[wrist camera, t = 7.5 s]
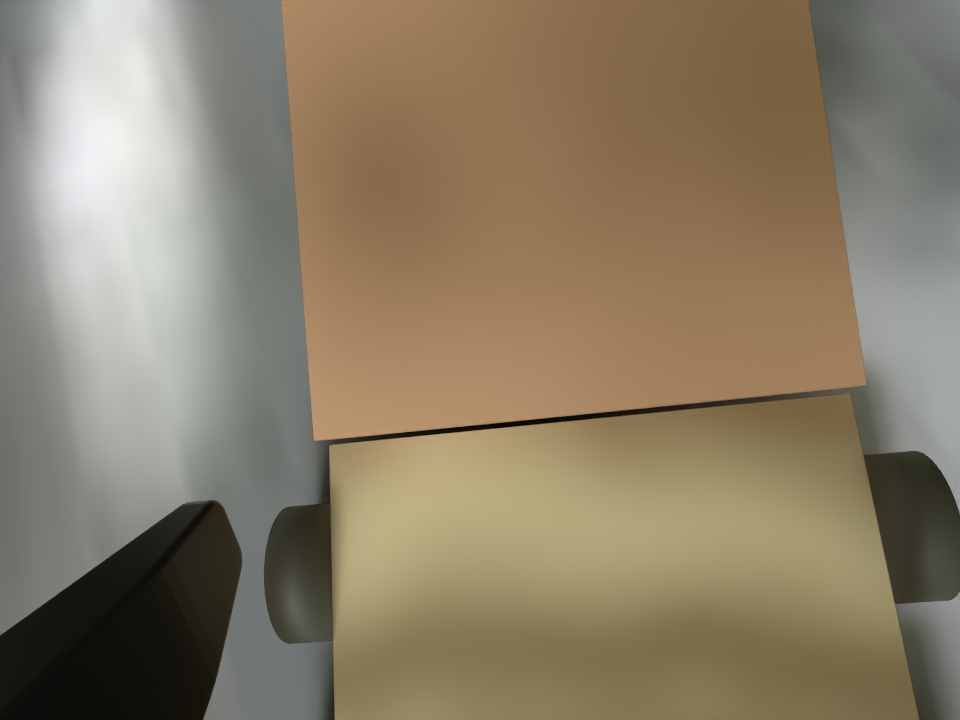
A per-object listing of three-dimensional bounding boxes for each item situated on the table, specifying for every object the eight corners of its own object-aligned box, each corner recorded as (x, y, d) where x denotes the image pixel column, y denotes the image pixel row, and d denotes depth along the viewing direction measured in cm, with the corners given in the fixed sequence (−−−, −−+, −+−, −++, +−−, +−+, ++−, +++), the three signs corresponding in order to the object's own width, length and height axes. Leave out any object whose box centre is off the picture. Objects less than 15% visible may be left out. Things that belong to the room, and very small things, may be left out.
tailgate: (867, 385, 18) (785, -151, 19) (314, 440, 20) (277, -55, 21) (849, 387, 19) (773, -118, 21) (328, 439, 21) (293, -30, 22)
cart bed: (989, 942, 17) (1181, 1131, 12) (321, 950, 20) (207, 1115, 14) (871, 403, 21) (976, 346, 15) (314, 457, 23) (220, 425, 17)
